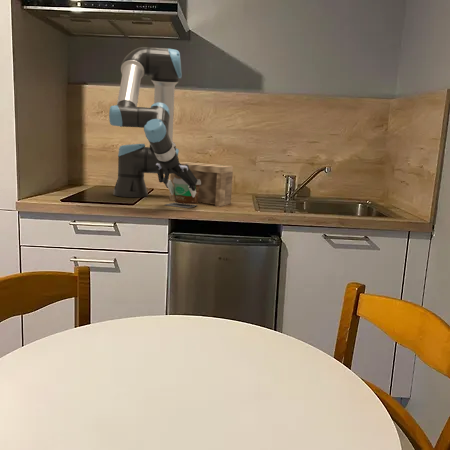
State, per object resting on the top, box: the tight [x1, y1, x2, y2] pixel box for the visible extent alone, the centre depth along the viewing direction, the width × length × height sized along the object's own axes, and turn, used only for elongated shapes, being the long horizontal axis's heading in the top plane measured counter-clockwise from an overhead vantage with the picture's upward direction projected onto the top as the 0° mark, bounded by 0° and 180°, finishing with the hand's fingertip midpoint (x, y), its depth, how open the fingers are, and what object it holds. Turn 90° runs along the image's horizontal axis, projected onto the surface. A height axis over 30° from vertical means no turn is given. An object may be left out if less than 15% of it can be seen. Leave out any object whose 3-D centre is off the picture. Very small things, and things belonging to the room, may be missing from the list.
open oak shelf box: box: [169, 161, 234, 208], centre depth 231 cm, size 24×12×16 cm, turn 67°
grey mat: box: [164, 202, 198, 209], centre depth 218 cm, size 11×8×1 cm
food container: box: [173, 177, 201, 205], centre depth 217 cm, size 12×6×10 cm, turn 69°
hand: (183, 193), depth 217 cm, fingers closed on food container, 9 cm apart
